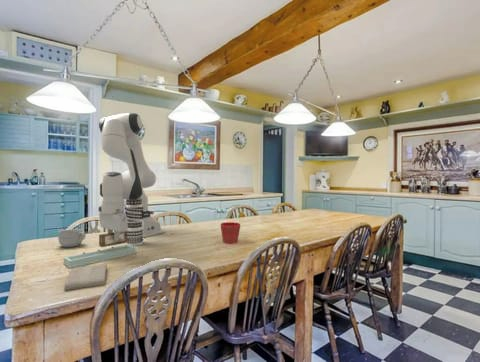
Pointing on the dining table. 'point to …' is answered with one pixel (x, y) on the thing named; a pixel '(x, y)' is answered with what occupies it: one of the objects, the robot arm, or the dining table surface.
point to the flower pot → (230, 232)
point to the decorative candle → (134, 221)
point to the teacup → (71, 237)
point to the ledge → (98, 256)
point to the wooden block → (108, 239)
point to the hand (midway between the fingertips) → (113, 239)
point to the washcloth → (86, 276)
